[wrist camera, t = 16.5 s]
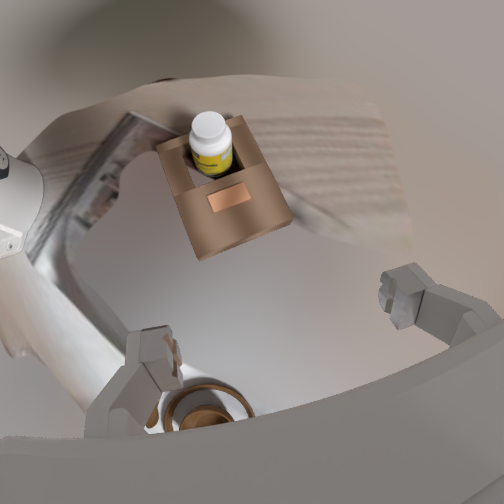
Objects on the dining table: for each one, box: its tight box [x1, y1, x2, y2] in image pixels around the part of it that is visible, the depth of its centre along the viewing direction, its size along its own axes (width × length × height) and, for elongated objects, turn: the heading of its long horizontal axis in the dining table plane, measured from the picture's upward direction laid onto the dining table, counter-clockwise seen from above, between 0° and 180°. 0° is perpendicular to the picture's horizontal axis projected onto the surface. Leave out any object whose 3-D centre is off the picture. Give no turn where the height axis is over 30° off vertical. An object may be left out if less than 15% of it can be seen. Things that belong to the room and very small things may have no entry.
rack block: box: [156, 115, 294, 261], centre depth 42 cm, size 13×17×3 cm
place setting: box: [146, 384, 255, 432], centre depth 34 cm, size 18×20×6 cm
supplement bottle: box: [189, 111, 232, 177], centre depth 40 cm, size 5×5×10 cm
